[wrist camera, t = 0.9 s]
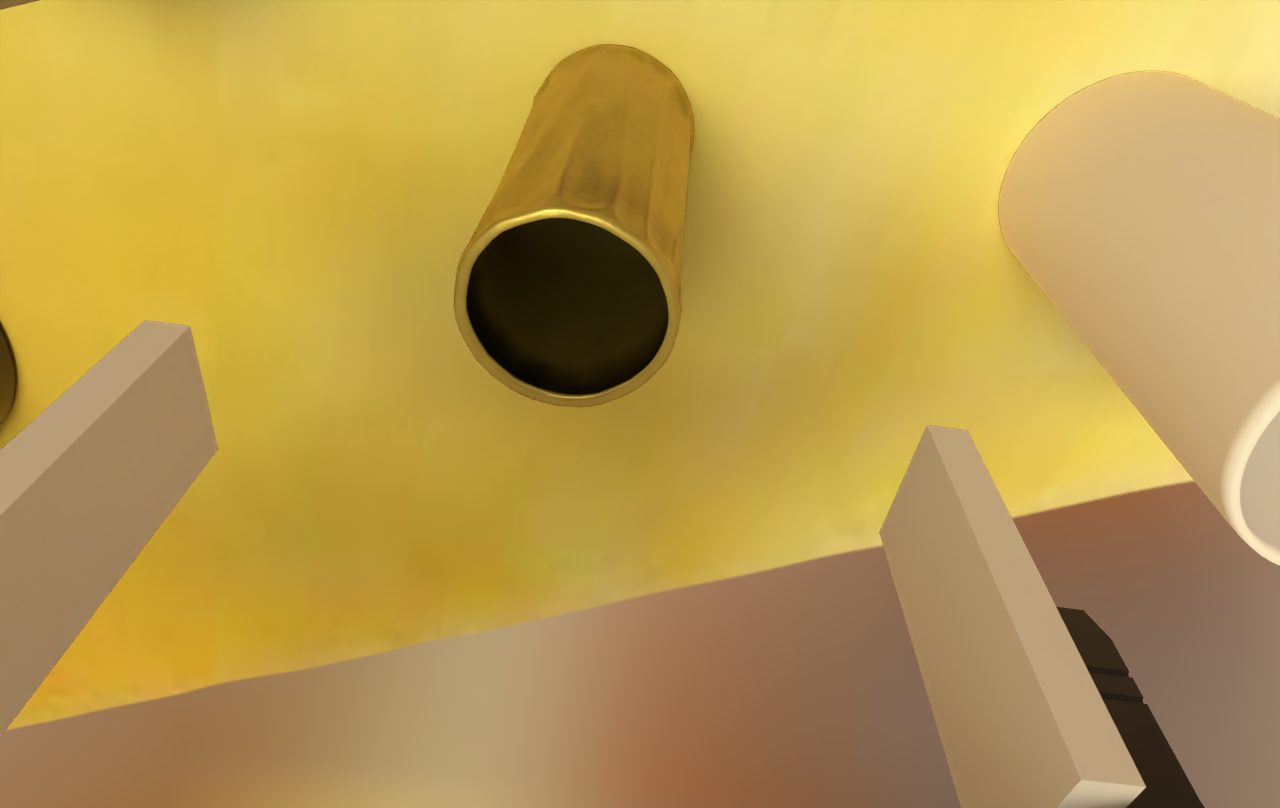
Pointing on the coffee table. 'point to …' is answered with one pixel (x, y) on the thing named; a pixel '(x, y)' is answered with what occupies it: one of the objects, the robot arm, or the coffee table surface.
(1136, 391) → the cup
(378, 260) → the coffee table surface
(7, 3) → the perfume bottle
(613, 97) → the vase
